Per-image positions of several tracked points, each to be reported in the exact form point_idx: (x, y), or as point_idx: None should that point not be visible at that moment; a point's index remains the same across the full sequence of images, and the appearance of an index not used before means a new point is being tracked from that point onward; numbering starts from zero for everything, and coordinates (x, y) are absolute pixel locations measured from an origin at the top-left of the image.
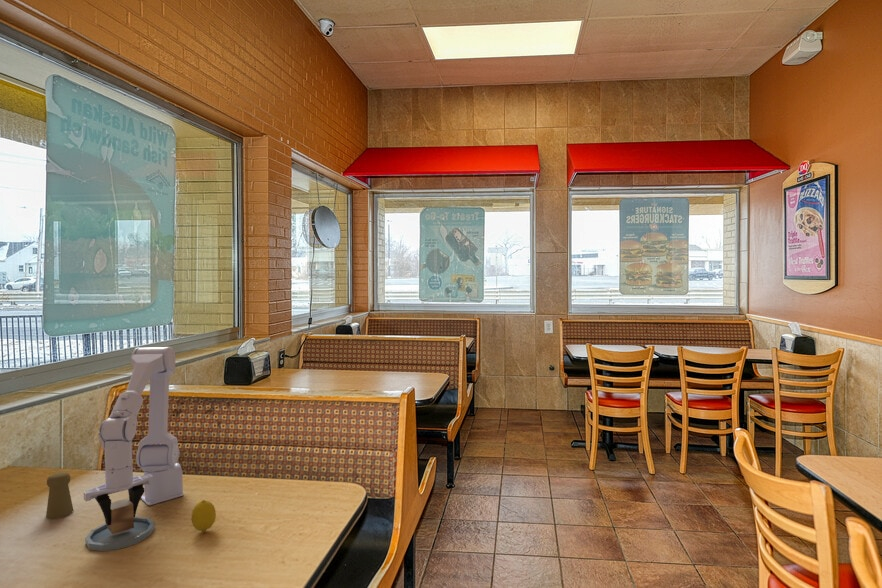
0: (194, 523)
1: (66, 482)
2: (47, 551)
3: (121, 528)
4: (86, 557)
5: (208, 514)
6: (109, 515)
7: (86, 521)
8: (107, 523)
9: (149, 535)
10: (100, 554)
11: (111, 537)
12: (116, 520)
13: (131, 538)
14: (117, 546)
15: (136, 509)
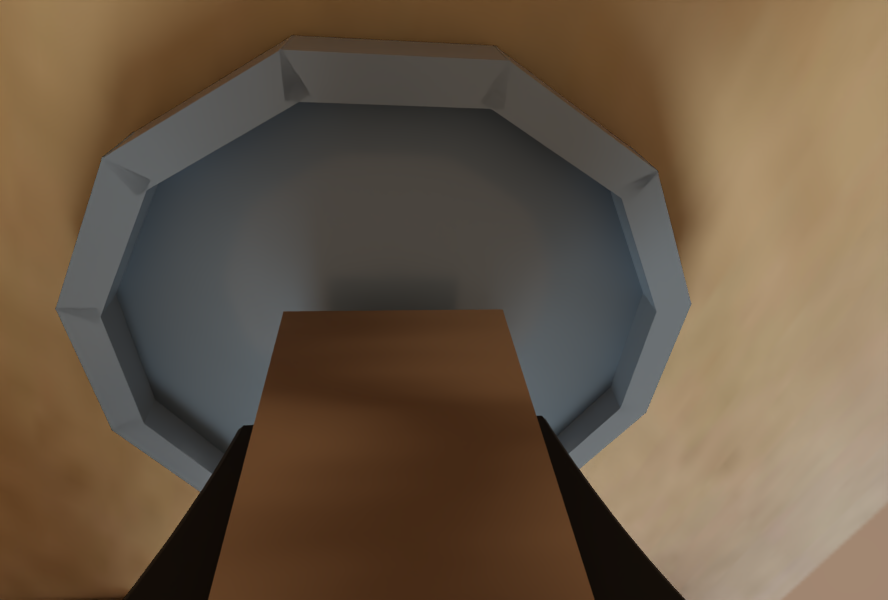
0: None
1: None
2: (800, 422)
3: (416, 331)
4: (769, 134)
5: None
6: (577, 521)
7: None
8: (553, 439)
9: (144, 126)
10: (673, 89)
11: None
12: (484, 420)
13: (362, 81)
14: (526, 71)
15: (186, 514)
